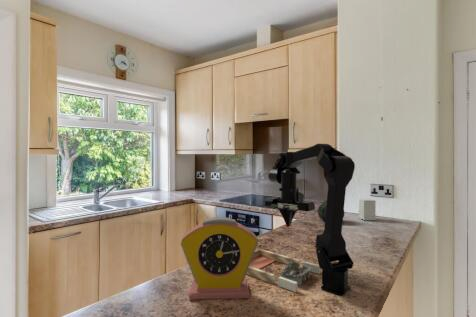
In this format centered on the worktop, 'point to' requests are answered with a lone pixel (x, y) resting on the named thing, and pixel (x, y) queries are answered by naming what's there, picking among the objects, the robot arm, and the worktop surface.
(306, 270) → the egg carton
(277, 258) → the channel
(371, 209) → the supplement box
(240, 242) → the retro mantel clock
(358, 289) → the worktop surface
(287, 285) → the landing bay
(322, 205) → the squash
